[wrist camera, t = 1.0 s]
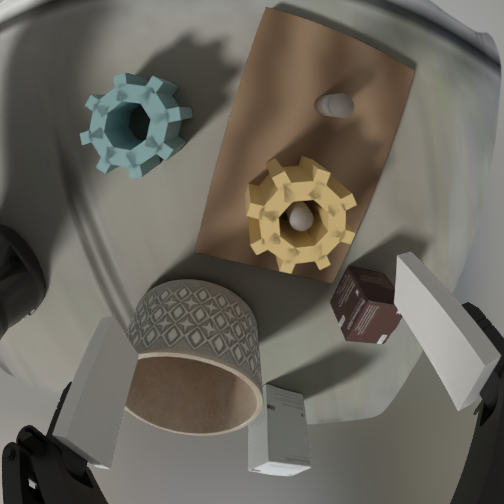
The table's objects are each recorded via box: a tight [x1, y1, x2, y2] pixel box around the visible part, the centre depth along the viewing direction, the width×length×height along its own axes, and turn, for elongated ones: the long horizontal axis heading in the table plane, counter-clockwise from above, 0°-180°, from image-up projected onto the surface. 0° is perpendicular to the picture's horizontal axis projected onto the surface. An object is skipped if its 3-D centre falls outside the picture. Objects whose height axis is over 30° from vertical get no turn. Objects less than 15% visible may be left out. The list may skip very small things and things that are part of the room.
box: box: [330, 266, 403, 344], centre depth 33 cm, size 6×6×7 cm
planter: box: [125, 279, 264, 435], centre depth 32 cm, size 16×16×13 cm
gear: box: [80, 73, 193, 179], centre depth 23 cm, size 9×9×6 cm
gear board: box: [195, 7, 414, 283], centre depth 25 cm, size 16×26×7 cm, turn 164°
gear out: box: [245, 156, 357, 274], centre depth 26 cm, size 9×9×6 cm
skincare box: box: [248, 384, 312, 476], centre depth 40 cm, size 8×6×15 cm
